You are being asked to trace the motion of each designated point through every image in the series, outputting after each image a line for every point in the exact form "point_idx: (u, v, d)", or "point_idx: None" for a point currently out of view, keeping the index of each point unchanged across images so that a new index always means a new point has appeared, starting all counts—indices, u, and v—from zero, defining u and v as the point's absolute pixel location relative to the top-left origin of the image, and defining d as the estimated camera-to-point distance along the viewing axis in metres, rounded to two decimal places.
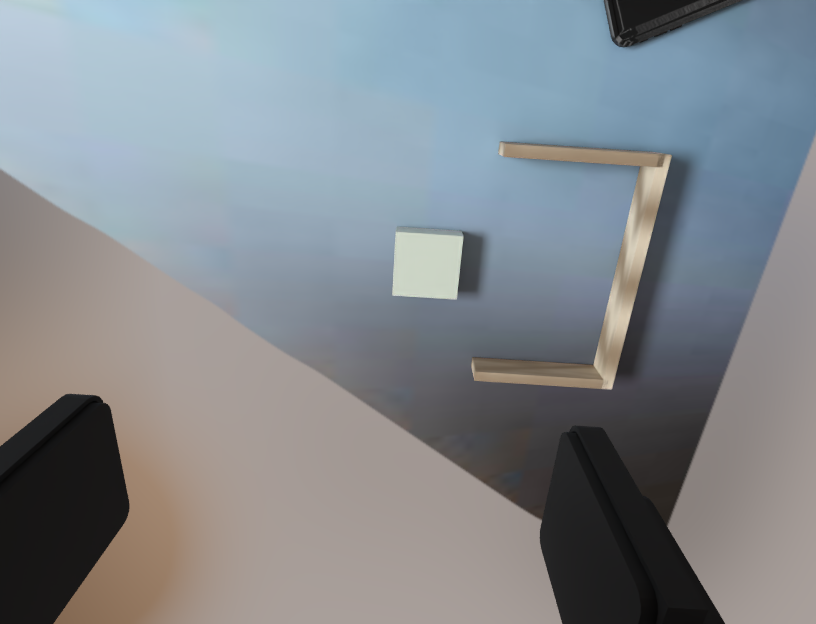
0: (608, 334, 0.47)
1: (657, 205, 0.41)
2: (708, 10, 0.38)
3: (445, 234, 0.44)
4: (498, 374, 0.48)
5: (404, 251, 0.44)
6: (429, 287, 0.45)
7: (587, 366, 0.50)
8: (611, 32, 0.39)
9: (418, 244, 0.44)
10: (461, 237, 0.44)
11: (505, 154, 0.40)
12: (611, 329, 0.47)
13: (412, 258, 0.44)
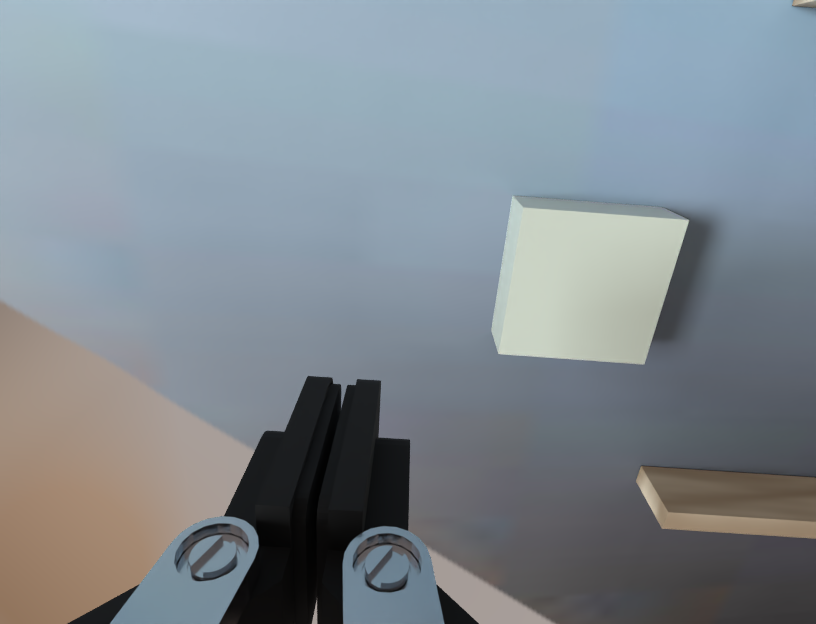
0: None
1: None
2: None
3: (642, 214, 0.18)
4: (716, 517, 0.22)
5: (538, 255, 0.18)
6: (585, 336, 0.20)
7: None
8: None
9: (574, 238, 0.18)
10: (683, 223, 0.18)
11: None
12: None
13: (555, 271, 0.19)
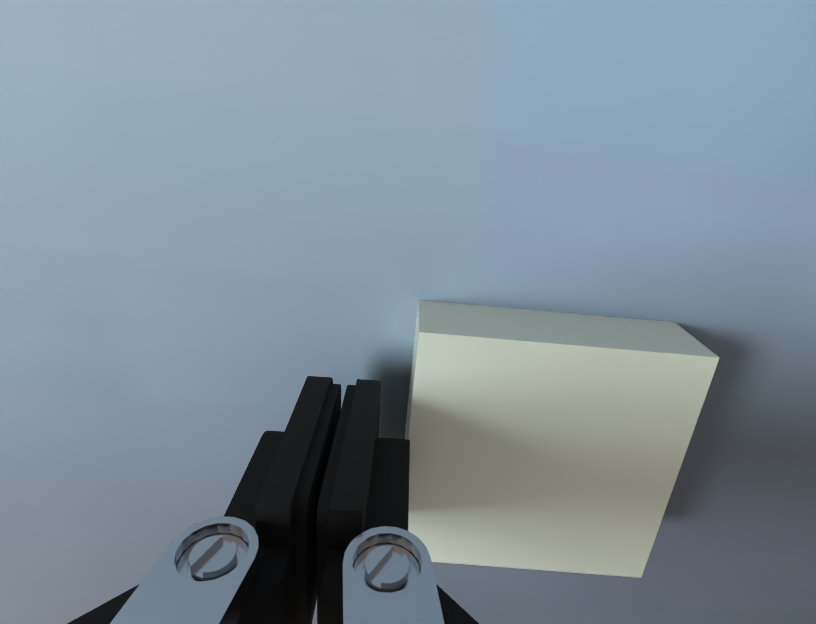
0: None
1: None
2: None
3: (634, 343, 0.10)
4: None
5: (452, 410, 0.10)
6: (541, 536, 0.12)
7: None
8: None
9: (513, 384, 0.10)
10: (709, 362, 0.10)
11: None
12: None
13: (483, 436, 0.11)
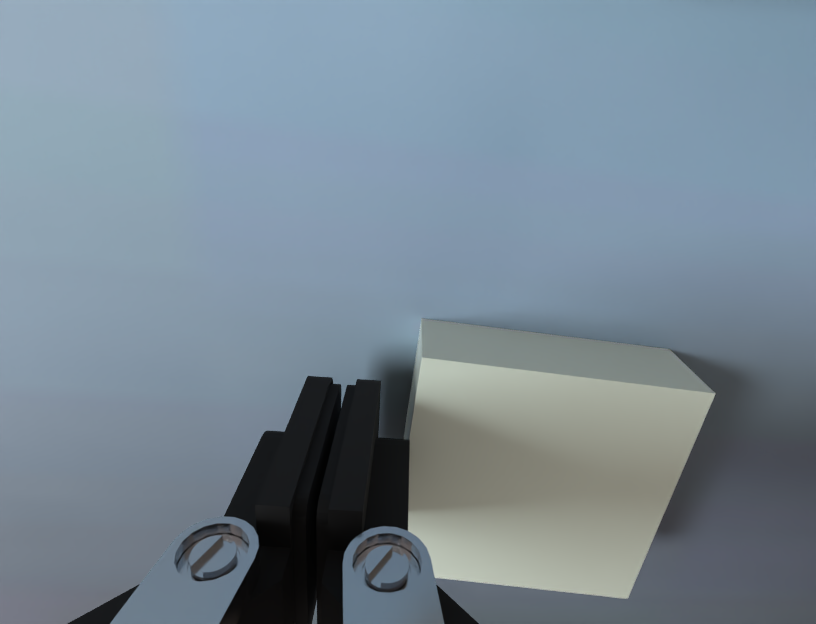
0: None
1: None
2: None
3: (633, 376, 0.10)
4: None
5: (451, 433, 0.10)
6: (532, 556, 0.12)
7: None
8: None
9: (513, 411, 0.10)
10: (705, 397, 0.10)
11: None
12: None
13: (481, 459, 0.11)
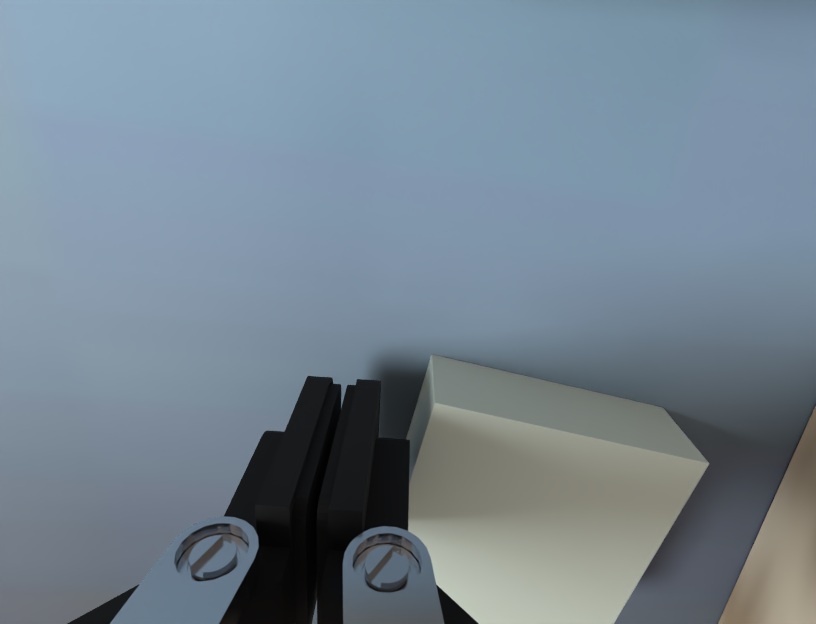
0: None
1: None
2: None
3: (633, 438, 0.11)
4: None
5: (452, 476, 0.11)
6: (513, 600, 0.12)
7: None
8: None
9: (515, 462, 0.10)
10: (699, 466, 0.10)
11: None
12: None
13: (478, 504, 0.11)
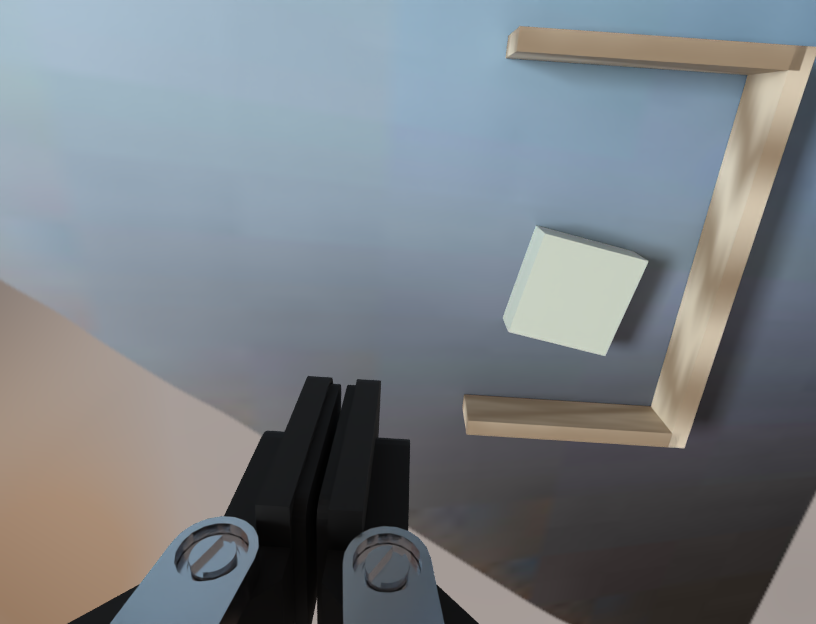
0: (680, 361, 0.30)
1: (784, 142, 0.24)
2: None
3: (619, 252, 0.27)
4: (504, 424, 0.30)
5: (548, 267, 0.27)
6: (569, 329, 0.28)
7: (642, 409, 0.32)
8: None
9: (573, 260, 0.27)
10: (644, 262, 0.27)
11: (519, 46, 0.22)
12: (687, 354, 0.29)
13: (557, 280, 0.27)
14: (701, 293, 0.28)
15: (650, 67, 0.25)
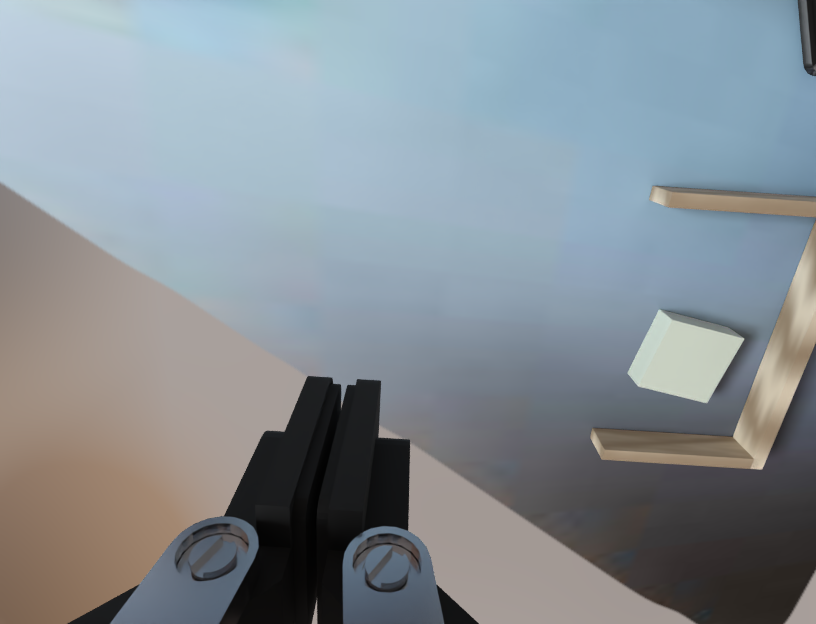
0: (761, 406, 0.40)
1: None
2: None
3: (723, 332, 0.38)
4: (630, 452, 0.41)
5: (672, 342, 0.38)
6: (682, 384, 0.39)
7: (727, 439, 0.43)
8: (806, 59, 0.32)
9: (691, 337, 0.38)
10: (741, 339, 0.38)
11: (670, 204, 0.33)
12: (767, 402, 0.40)
13: (678, 351, 0.38)
14: (779, 359, 0.39)
15: None
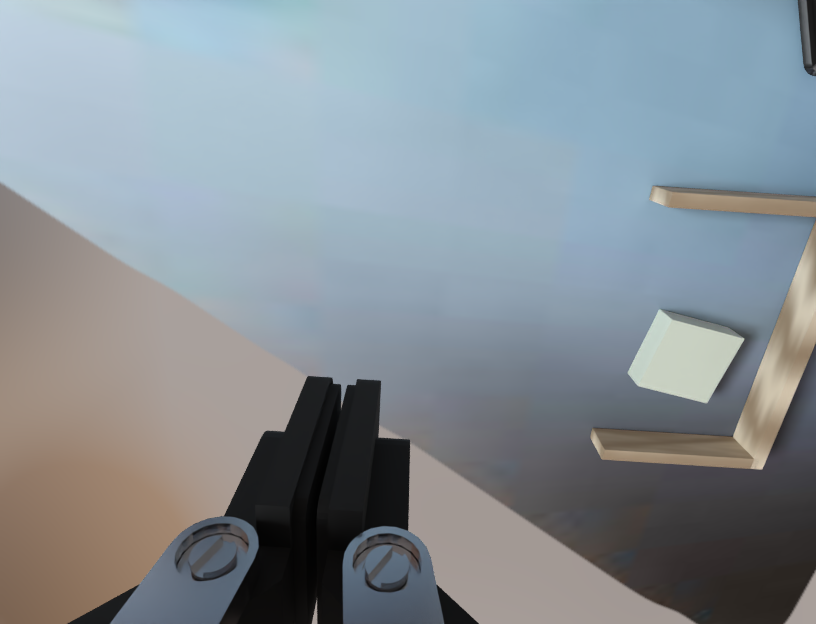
0: (761, 406, 0.40)
1: None
2: None
3: (723, 332, 0.38)
4: (630, 452, 0.41)
5: (672, 342, 0.38)
6: (682, 384, 0.39)
7: (727, 439, 0.43)
8: (806, 59, 0.32)
9: (691, 337, 0.38)
10: (741, 339, 0.38)
11: (670, 204, 0.33)
12: (767, 402, 0.40)
13: (677, 350, 0.38)
14: (779, 359, 0.39)
15: None
